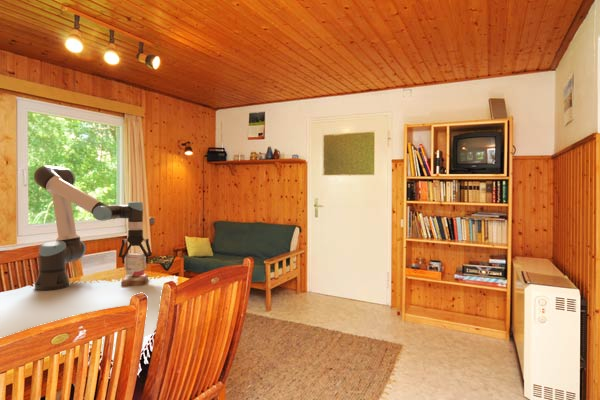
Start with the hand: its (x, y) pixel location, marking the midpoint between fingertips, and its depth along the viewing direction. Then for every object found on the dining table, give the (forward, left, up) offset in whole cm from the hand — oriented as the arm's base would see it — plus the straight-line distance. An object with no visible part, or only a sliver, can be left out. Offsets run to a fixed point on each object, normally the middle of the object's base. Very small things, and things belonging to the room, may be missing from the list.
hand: (135, 268), depth 204 cm
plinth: (0, 0, -8) cm, 8 cm away
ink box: (0, 0, -4) cm, 4 cm away
